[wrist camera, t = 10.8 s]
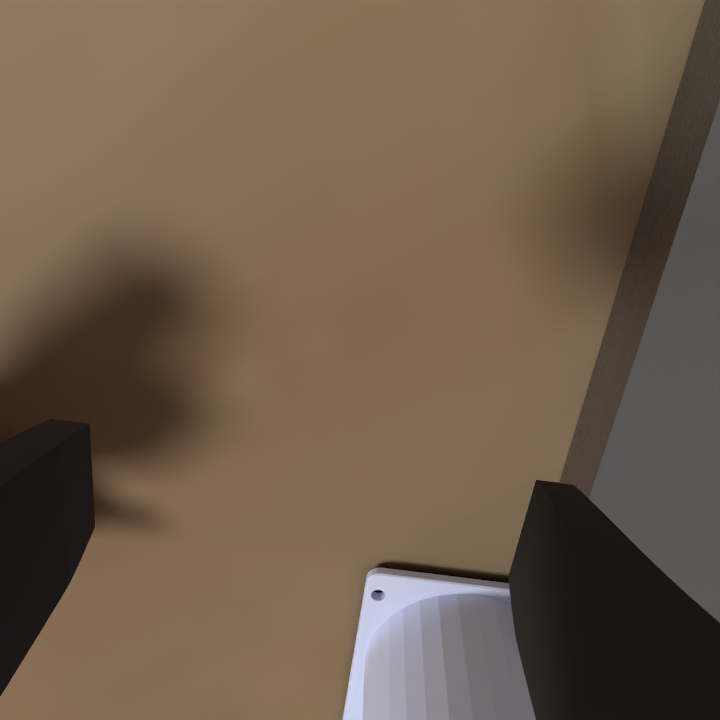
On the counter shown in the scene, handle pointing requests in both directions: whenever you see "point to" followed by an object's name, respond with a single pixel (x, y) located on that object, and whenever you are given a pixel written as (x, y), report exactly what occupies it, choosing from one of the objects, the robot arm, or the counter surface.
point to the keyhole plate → (666, 353)
